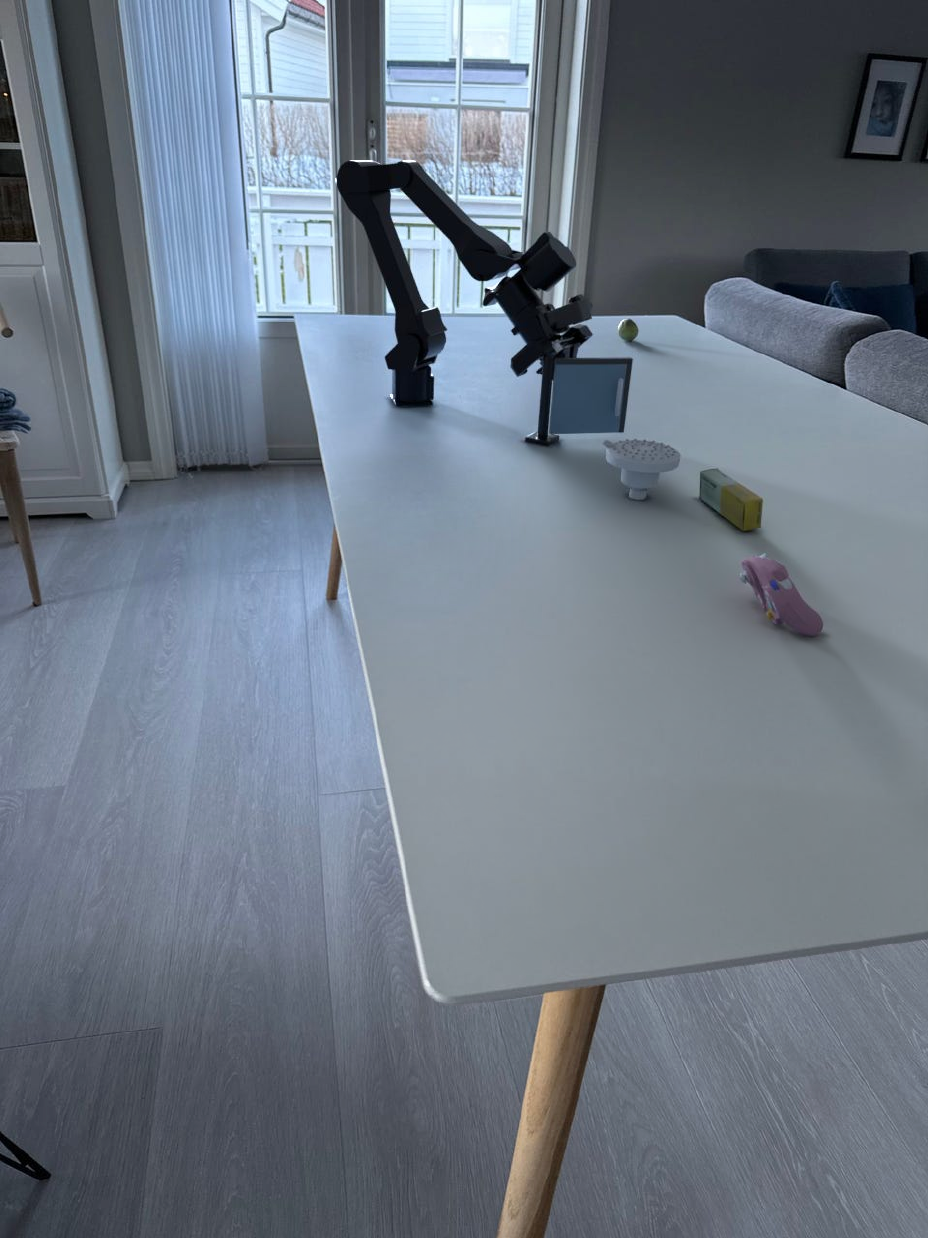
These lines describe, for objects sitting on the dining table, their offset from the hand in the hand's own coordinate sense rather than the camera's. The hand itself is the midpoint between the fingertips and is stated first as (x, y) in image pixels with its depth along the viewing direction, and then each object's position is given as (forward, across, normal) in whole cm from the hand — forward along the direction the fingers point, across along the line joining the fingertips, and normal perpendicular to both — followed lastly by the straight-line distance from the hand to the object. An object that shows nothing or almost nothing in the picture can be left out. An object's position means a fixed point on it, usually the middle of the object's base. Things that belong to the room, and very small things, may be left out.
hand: (583, 393), depth 141 cm
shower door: (+6, -4, +1) cm, 7 cm away
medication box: (+26, -22, -17) cm, 38 cm away
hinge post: (+2, -8, +6) cm, 10 cm away
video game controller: (+34, -47, -26) cm, 63 cm away
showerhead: (+17, -23, -8) cm, 30 cm away
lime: (-11, +77, +20) cm, 80 cm away
